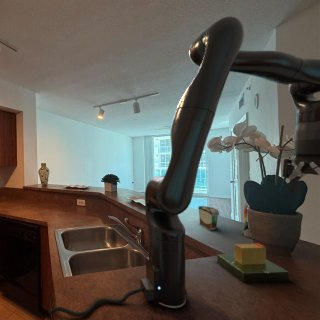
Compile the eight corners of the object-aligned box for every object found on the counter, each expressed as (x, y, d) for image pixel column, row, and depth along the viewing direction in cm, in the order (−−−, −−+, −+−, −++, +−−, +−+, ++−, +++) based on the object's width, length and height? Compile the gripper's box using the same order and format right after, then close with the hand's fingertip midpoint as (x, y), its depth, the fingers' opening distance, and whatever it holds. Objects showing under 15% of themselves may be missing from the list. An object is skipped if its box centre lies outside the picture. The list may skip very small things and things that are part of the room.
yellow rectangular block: (242, 264, 63) (242, 247, 63) (234, 260, 66) (234, 243, 65) (265, 264, 63) (266, 246, 63) (257, 259, 66) (258, 242, 66)
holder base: (245, 284, 58) (245, 273, 58) (216, 261, 70) (216, 253, 70) (290, 282, 58) (291, 272, 58) (253, 260, 71) (253, 252, 70)
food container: (225, 232, 96) (225, 212, 96) (212, 232, 97) (212, 212, 96) (209, 223, 109) (209, 205, 108) (198, 223, 109) (198, 205, 109)
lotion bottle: (243, 233, 95) (243, 192, 94) (259, 235, 91) (259, 193, 91) (243, 236, 91) (244, 194, 90) (260, 240, 87) (260, 195, 86)
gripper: (275, 140, 62) (274, 191, 62) (334, 136, 48) (333, 201, 48) (298, 140, 62) (297, 190, 62) (364, 136, 48) (362, 201, 48)
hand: (312, 195), depth 55 cm, fingers open, 8 cm apart
